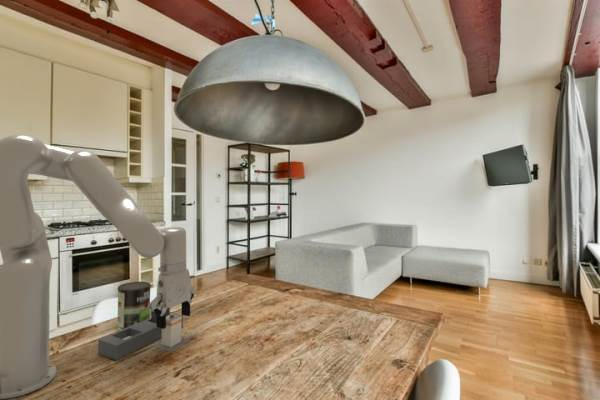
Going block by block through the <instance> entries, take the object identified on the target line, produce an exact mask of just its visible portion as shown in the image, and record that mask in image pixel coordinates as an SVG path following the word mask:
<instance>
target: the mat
mask: <svg viewBox="0 0 600 400" xmlns="http://www.w3.org/2000/svg"><path fill="white" fill-rule="evenodd" d="M190 341H191V339H188V338H184V337H181V342H179V343H178V344H176V345H174V346H172V347H169V346H166V345H162V344H161V343H162V339H161V340H159V341H158V342H156V343H153V344H151V347H153V348H157V349H161V350H164V351H165V352H169V353H170V352H173V351H175V350H177V349H179V347H181V346H183V345H185V344H187V343H188V342H190Z"/></svg>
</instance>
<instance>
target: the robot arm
mask: <svg viewBox="0 0 600 400" xmlns="http://www.w3.org/2000/svg"><path fill="white" fill-rule="evenodd" d="M29 174H34V175H39V176H43V177H48V178H53V179H58V180H63V181H68V182H69V181H70V182H73V184H74V185H75V186H76V187H77V188H78V189H79V190H80V191H81V192H82V194H83V195H84V196H85V197H86V198H87V200H88V201H89V202H90V204H92V205H93V206H94V207H95V209H96V210H97V211H98V212H99V214H101V216H102V217H103V218H104V219H106V220H107V221H108V222H109V223H111V224H112V225H113V226H114V227H115V229H116V230H117V231H118V232H119V233H120V234H121V235H122V237H124V239H125V240H126V241H127V242H128V243H129V244H130V246H131V247H132V249H133V250H134V251H135V252H136V254H138V255H139V256H141V257H143V258H147V259H150V258H155V257H157V256H158V255H159V259H160V260H159V262H160V264H159V265H160V266H159V267H158V269H157V271H158V272H159V274H158V278H157V285H156V297H154V298H153V299H152V300H150V303H149V307H150V313H151V312H153V313H154V314H155V315H156V320H157V327H158V328H162V329H165V328H166V315H164V314H165V312H166V310H167V308H170V309H171V308H174V307H176V306H179V305H180V304H181V315H183V316H185V317H190V316H191V303H192V302H193V298H194V295H195V291H196V286H193V285H192V283H191V282H192V281H191V275H190V272H189V271H190V270H189V268H187V230H186V229H185V228H184V227H181V226H180V227H179V226H169V227H165V228H157V227H156V226H155V225H154V224H153V222H152V221H151V220H150V219H149V217H147V215H146V213H144V212H143V210H142V209H141V208H140V206H138V204H137V203H136V202H135V200H134V199H133V198H132V196H131V195H130V194H129V193H128V192H127V191H126V189H125V188H124V187H123V186H122V185H121V182H119V181H118V179H117V178H116V177H115V175H113V173H112V172H111V170H110V169H109V168H108V167H107V165H106V164H105V163H104V161H103V160H101V158H100V157H99V156H98V155H97V154H95V153H93V152H92V151H88V150H76V151H73V150H69V149H66V148H65V149H64V148H61V147H57V146H52V145H49V144H46V143H44V142H43V141H42V140H40V139H39V138H37V137H35V136H31V135H28V134H13V135H9V136H6V137H3V138H1V139H0V254H1V260H2V264H0V400H7V399H13V398H16V397H21V396H24V395H26V394H30V393H33V392H34V391H36V390H39V389H41V388H42V387H45V386H46V385H47V384H49V383H50V382H51V381H52V380H54V379H55V378H56V376H57V373H58V372H57V369H58V368H57V367H56V366H55V365H53V364H51V363H50V319H51V318H50V316H51V315H50V308H51V307H50V282H51V280H50V279H51V270H52V266H53V260H52V255H51V250H50V245H49V243H48V237H47V233H46V229H45V224H44V221H43V220H42V217H41V216H40V215H39V214H38V213H36V212H35V208H34V204H33V202H32V195H31V194H32V193H31V190H30V187H29V183H28V177H29ZM156 305H158V307H156ZM162 307H163V308H162ZM161 308H162V310H161ZM160 310H161V311H160Z"/></svg>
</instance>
